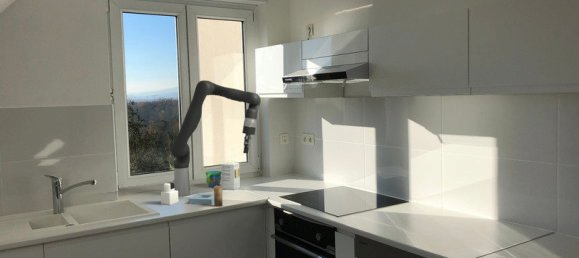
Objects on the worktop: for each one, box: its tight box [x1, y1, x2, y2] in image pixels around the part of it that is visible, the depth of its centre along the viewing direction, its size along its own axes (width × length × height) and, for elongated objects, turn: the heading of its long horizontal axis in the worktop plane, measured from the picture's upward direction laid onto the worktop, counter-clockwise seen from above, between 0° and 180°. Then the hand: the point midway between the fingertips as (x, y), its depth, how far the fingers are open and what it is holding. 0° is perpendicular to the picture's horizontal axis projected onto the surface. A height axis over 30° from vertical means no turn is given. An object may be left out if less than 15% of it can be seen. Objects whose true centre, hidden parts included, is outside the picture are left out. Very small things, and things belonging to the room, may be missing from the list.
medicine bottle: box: [160, 181, 179, 206], centre depth 286 cm, size 7×7×12 cm
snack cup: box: [205, 170, 222, 188], centre depth 334 cm, size 16×10×10 cm
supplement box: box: [220, 162, 241, 191], centre depth 326 cm, size 10×9×17 cm
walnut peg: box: [213, 185, 224, 207], centre depth 277 cm, size 5×5×11 cm
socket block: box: [188, 193, 214, 205], centre depth 289 cm, size 14×14×3 cm
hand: (245, 153), depth 293 cm, fingers open, 8 cm apart
